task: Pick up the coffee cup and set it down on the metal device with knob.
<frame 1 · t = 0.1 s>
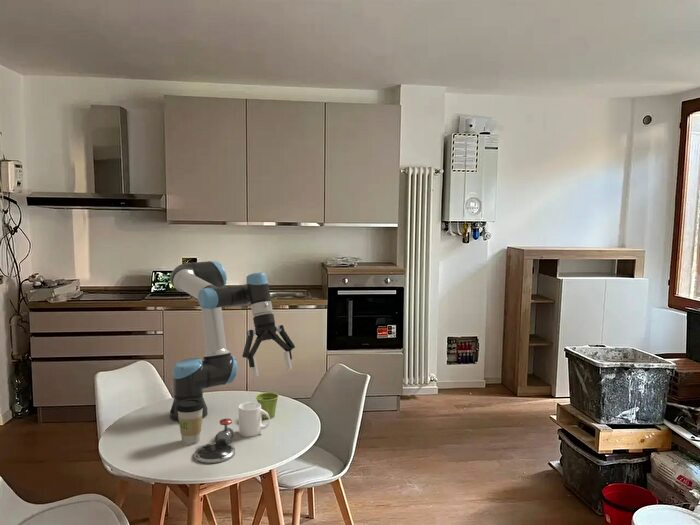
hand: (273, 372, 191), 28 cm above the table, tool tilted 20°, fingers open, 13 cm apart
mug: (254, 433, 207), on the table
metal device with knob: (214, 454, 188), on the table
plant pot: (267, 416, 224), on the table
coffee cup: (191, 442, 199), on the table
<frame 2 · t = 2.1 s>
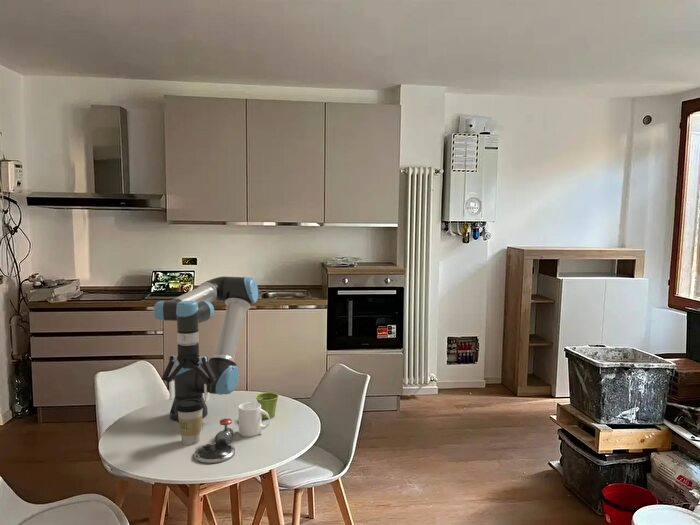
hand: (189, 399, 197), 16 cm above the table, tool pointing down, fingers open, 13 cm apart
nothing on the table moved.
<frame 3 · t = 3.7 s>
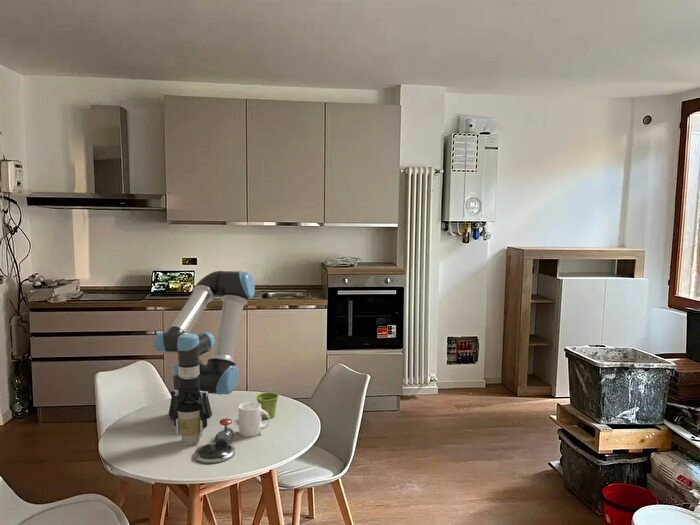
hand: (190, 435, 199), 2 cm above the table, tool pointing down, fingers closed on coffee cup, 9 cm apart
coffee cup: (191, 442, 199), on the table, touching gripper
everything else where it was.
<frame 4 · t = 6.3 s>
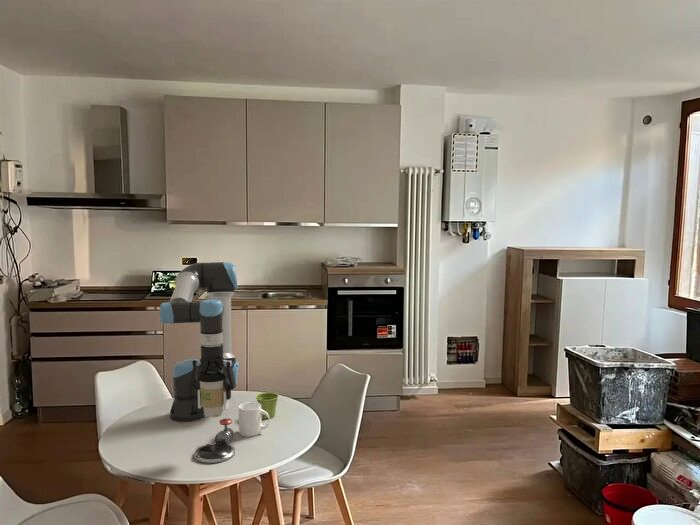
hand: (213, 407, 187), 17 cm above the table, tool pointing down, fingers closed on coffee cup, 9 cm apart
coffee cup: (213, 414, 187), point 15 cm above the table, touching gripper
everything else where it was.
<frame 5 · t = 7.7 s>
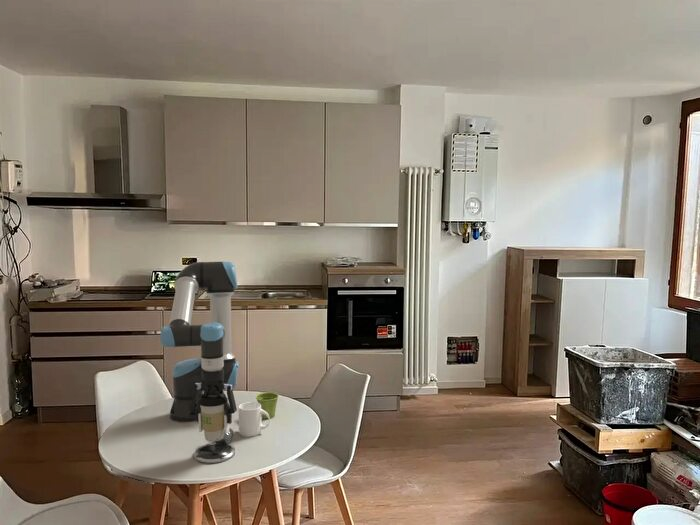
hand: (214, 431, 187), 9 cm above the table, tool pointing down, fingers closed on coffee cup, 9 cm apart
coffee cup: (214, 438, 188), point 6 cm above the table, touching gripper
everything else where it was.
when the fingers open (5 cm above the table, at t = 8.9 s): coffee cup moves 3 cm, point 2 cm above the table.
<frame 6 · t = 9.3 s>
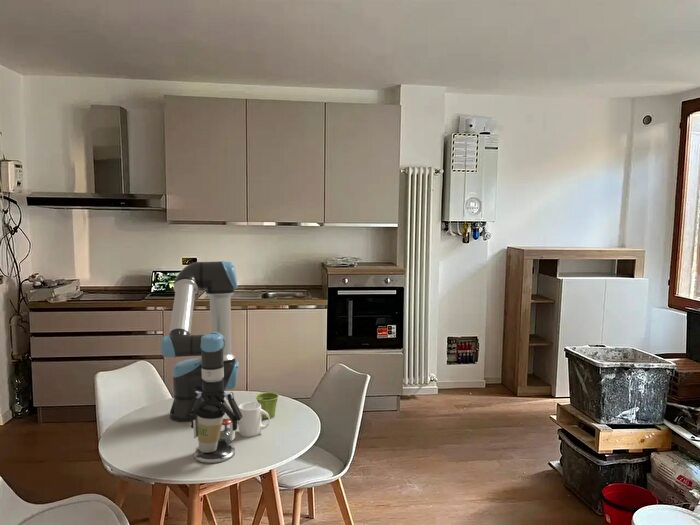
hand: (214, 437, 188), 6 cm above the table, tool pointing down, fingers open, 13 cm apart
coffee cup: (207, 448, 189), point 2 cm above the table, touching gripper
everything else where it was.
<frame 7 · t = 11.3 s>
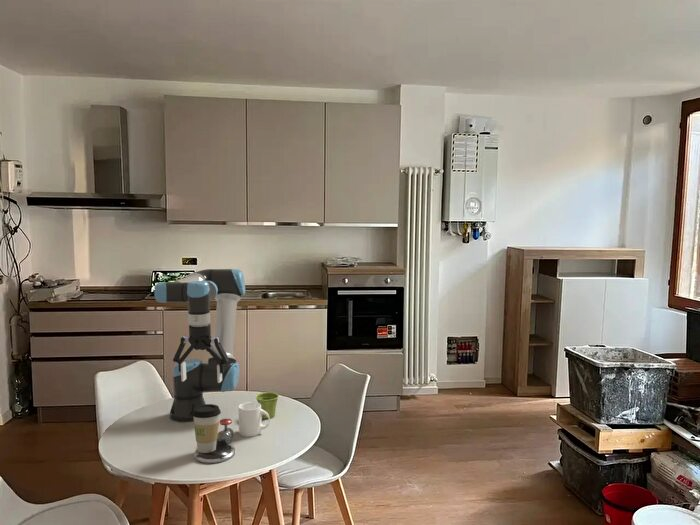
hand: (201, 380, 194), 24 cm above the table, tool pointing down, fingers open, 13 cm apart
coffee cup: (206, 450, 189), point 1 cm above the table, touching metal device with knob
everything else where it was.
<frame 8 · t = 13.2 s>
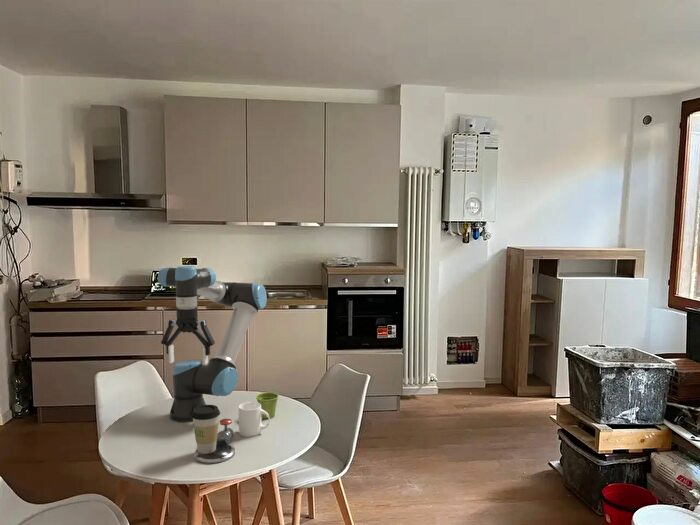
hand: (188, 363, 200), 29 cm above the table, tool pointing down, fingers open, 13 cm apart
nothing on the table moved.
at the end: coffee cup 3.3 cm from the metal device with knob (horizontally); coffee cup tilted 1°; coffee cup touching metal device with knob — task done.
